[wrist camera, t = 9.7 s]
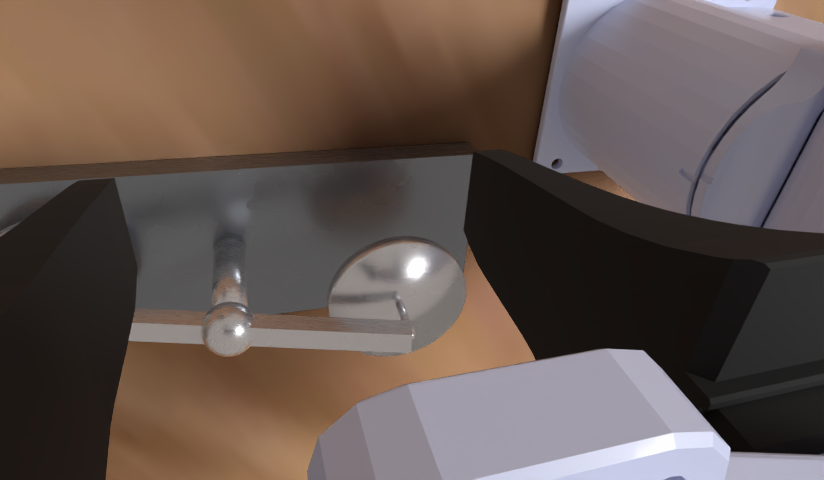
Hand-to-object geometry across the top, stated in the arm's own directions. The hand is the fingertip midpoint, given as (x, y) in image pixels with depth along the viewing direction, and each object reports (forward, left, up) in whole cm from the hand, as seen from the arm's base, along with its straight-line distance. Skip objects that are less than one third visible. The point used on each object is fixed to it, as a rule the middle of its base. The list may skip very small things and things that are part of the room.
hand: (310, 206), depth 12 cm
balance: (+2, +7, -10) cm, 13 cm away
